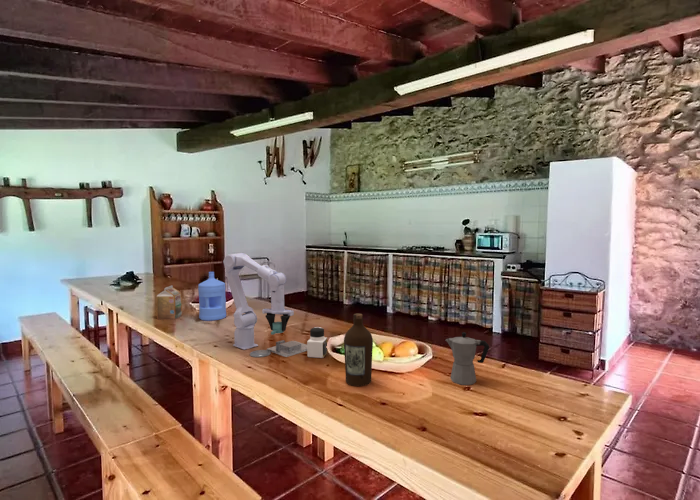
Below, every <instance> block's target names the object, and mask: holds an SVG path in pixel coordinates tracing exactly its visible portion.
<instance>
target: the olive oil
mask: <svg viewBox="0 0 700 500" xmlns="http://www.w3.org/2000/svg"><path fill="white" fill-rule="evenodd" d="M352 319H353V324H352V326H351V327H350V328H349V329H348V330H346V332H345V334H344V337H343V350H344V366H345V367H344V370H345V371H344V372H345V383H346V384H347V385H349V386H353V387H365V386H368V385H370V384H371V383H372V371H373V369H372V368H373V365H372V364H373V344H374V339H373V335H372V333H371V332H370V330H368V328H367V327H366V326H365V325H364V323H363V322H364V321H363V320H364V319H363V314H362V313H354V314H353V318H352Z"/></svg>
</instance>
